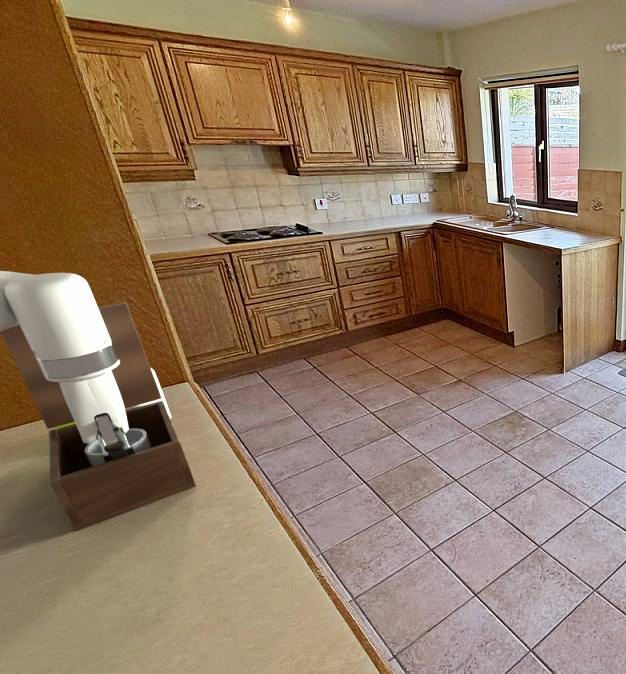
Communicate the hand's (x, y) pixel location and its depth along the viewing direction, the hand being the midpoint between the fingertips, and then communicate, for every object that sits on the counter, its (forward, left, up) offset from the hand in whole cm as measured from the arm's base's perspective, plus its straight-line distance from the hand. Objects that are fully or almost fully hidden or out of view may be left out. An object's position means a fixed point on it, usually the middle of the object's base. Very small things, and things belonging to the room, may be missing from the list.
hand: (124, 460), depth 74 cm
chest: (-1, +1, -5) cm, 5 cm away
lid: (-5, +9, +13) cm, 17 cm away
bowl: (0, 0, -1) cm, 1 cm away
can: (-7, +19, -5) cm, 21 cm away
